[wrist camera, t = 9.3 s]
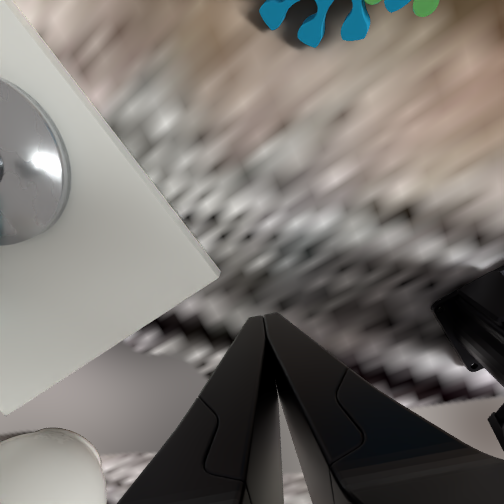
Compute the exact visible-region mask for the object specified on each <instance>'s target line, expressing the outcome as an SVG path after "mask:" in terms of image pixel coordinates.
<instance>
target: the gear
mask: <svg viewBox="0 0 504 504" xmlns="http://www.w3.org/2000/svg"><path fill="white" fill-rule="evenodd" d="M297 1H299V0H266V1H265V2H264V3H263V5H262V6H261V8H260V10H259V12H260V14H261V17H262V18H263V20H264V22H265V23H266V24H267V26H268V27H269V28H270V29H271V30H275V29H277V28H278V27H279V26H280V24H281V23H282V22H283V20H284V18H285V17H286V14H287V11H288V9H289V8H290V7H291V6H292V5H293V4H294V3H296V2H297ZM315 1H316V3H317V6H318V11H317V13H315V14H313V15H311V16H309V17H307V18H306V19H305V20H304V22H303V24H302V25H301V27H300V28H299V31H298V39H299V40H300V41H301V42H303V43H304V44H306V45H309V46H311V47H314V48H316V47H317V46H318V45H319V43H320V41H321V39H322V37H323V35H324V33H325V19H326V14H327V11H328V9H329V7H330V5H331V4H332V2H333V1H334V0H315ZM380 1H381V0H352V3H353V9H352V10H351V11H350V13H349V14H348V15H347V17H346V19H345V21H344V23H343V25H342V27H341V37H342V39H343V40H346V41H354V40H360V39H364V38H365V36H366V34H367V32H368V29H369V26H370V17H369V14H368V12H367V10H366V6H365V2H366V3H368V4H371V5H374V4H377V3H379V2H380ZM410 1H411V0H384V3H385V6H386V9H387V10H388V11H389V12H391V13H392V12H394V11H397V10H399V9H400V8H402V7H403V6H405V5H406V4H407V3H409V2H410ZM438 3H439V0H414V2H413V11H414V13H415V14H416V15H417V16H420V17H424V16H428V15H430V14H431V13H432V12H433V11H434V10H435V9H436V8H437V6H438Z"/></svg>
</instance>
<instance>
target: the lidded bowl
mask: <svg viewBox="0 0 504 504" xmlns="http://www.w3.org/2000/svg"><path fill="white" fill-rule="evenodd" d="M106 503H107V492H106V481H105V478H104V474H103V470H102V468H101V459H100V456H99V454H98V451H97V450H96V449H95V447H94V446H93V445H92V444H91V443H90V442H89V441H88V440H87V439H85V438H84V437H82V436H81V435H79V434H77V433H75V432H72V431H70V430H66V429H62V428H45V429H41V430H38V431H36V432H33V433H27V434H22V435H18V436H15V437H12V438H9V439H7V440H4V441H2V442H0V504H106Z"/></svg>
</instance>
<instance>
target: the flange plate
mask: <svg viewBox="0 0 504 504" xmlns="http://www.w3.org/2000/svg"><path fill="white" fill-rule="evenodd" d="M70 190H71V166H70V161H69V155H68V152H67V149H66V146H65V143H64V141H63V139H62V136H61V134H60V132H59V130H58V129H57V127H56V125H55V123H54V122H53V120H52V119H51V118H50V116H49V115H48V113H47V112H46V111H45V110H44V109H43V108H42V106H41V105H40V104H39V103H38V102H37V101H36V100H35V99H34V98H32V97H31V96H30V95H29V94H28V93H27V92H25V91H24V90H22V89H21V88H20V87H18V86H17V85H15V84H13V83H11V82H9V81H8V80H6V79H3V78H1V77H0V246H5V245H12V244H16V243H19V242H23V241H26V240H28V239H31V238H34V237H36V236H38V235H40V234H42V233H44V232H45V231H47V230H48V229H49V228H51V227H52V226H53V225H54V224H55V223H56V222H57V220H58V219H59V218H60V216H61V215H62V213H63V211H64V209H65V207H66V205H67V202H68V199H69V195H70Z"/></svg>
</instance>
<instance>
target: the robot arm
mask: <svg viewBox="0 0 504 504" xmlns="http://www.w3.org/2000/svg"><path fill="white" fill-rule="evenodd" d="M440 307H442V309H441V310H439V311H438V308H440ZM431 310H432V312H433V314H434V315H435V317H436V319H437V320H438V322H439V324H440V325H441V327H442V329H443V330H444V332H445V334H446V336H447V337H448V339H449V341H450V342H451V344H452V346H453V347H454V349H455V351H456V352H457V354H458V356H459V357H460V359H461V361H462V362H463V364H464V366H465V367H466V368H467V369H468V370H469V371H471V372H476V371H478V370H480V369H483V368H485V369H486V370H487V371H488V372H489V373H490V374H491V375H492V376H493V377H494V378H495V379H496V380H497V381H498V382H499V383H500V384H501V385H502V386H503V387H504V266H502V267H500V268H498V269H496V270H494V271H492V272H490V273H488V274H486V275H484V276H482V277H480V278H479V279H477V280H475V281H473V282H471V283H469V284H467V285H465V286H464V287H462V288H460V289H459V290H457V291H455V292H453V293H451V294H449V295H448V296H446V297H444V298H442V299H440V300H438V301H436V302H435V303H433V305H432V306H431ZM472 364H473V365H472ZM275 380H276V381H275ZM276 385H277V387H276ZM277 390H278V393H277ZM278 395H279V398H280V402H281V405H282V409H283V412H284V415H285V418H286V421H287V424H288V427H289V431H290V434H291V437H292V440H293V443H294V446H295V450H296V453H297V456H298V459H299V462H300V465H301V468H302V472H303V475H304V478H305V481H306V484H307V487H308V490H309V494H310V497H311V500H312V503H313V504H504V460H503V459H499V458H496V457H493V456H490V455H488V454H485V453H483V452H481V451H479V450H477V449H475V448H473V447H471V446H469V445H467V444H465V443H464V442H462V441H460V440H459V439H457V438H455V437H454V436H452V435H450V434H449V433H447V432H445V431H444V430H442V429H441V428H439V427H437V426H436V425H434V424H432V423H431V422H429V421H427V420H426V419H424V418H422V417H421V416H419V415H418V414H416V413H414V412H413V411H411V410H409V409H408V408H406V407H405V406H403V405H401V404H400V403H398V402H397V401H395V400H394V399H392V398H390V397H389V396H387V395H386V394H384V393H383V392H381V391H380V390H378V389H377V388H375V387H374V386H373V385H371V384H370V383H368V382H367V381H366V380H364V379H363V378H362V377H360V376H359V375H358V374H356V373H355V372H354V371H353V370H351V369H349V368H348V367H347V366H346V365H345V364H343V363H342V362H341V361H339V360H338V359H337V358H336V357H334V356H333V355H332V354H330V353H329V352H328V351H327V350H325V349H324V348H323V347H321V346H320V345H319V344H318V343H316V342H315V341H314V340H312V339H311V338H310V337H309V336H307V335H306V334H305V333H303V332H302V331H301V330H300V329H298V328H297V327H296V326H294V325H293V324H292V323H291V322H289V321H288V320H287V319H285V318H284V317H283V316H282V315H280V314H279V313H271V314H266V315H264V318H263V316H256V317H250V318H248V320H247V321H246V323H245V324H244V326H243V327H242V329H241V330H240V332H239V334H238V335H237V337H236V338H235V340H234V341H233V343H232V344H231V346H230V348H229V349H228V351H227V352H226V354H225V355H224V357H223V358H222V360H221V361H220V363H219V365H218V366H217V368H216V369H215V371H214V372H213V374H212V375H211V377H210V379H209V380H208V382H207V383H206V385H205V386H204V388H203V389H202V391H201V393H200V394H199V396H198V398H197V399H196V400H195V402H194V403H193V405H192V406H191V408H190V409H189V411H188V412H187V414H186V415H185V417H184V418H183V420H182V421H181V422H180V424H179V425H178V427H177V428H176V430H175V431H174V432H173V433H172V435H171V436H170V437H169V439H168V440H167V441H166V443H165V444H164V445H163V447H162V448H161V449H160V450H159V452H158V453H157V454H156V455H155V457H154V458H153V459H152V460H151V462H150V463H149V464H148V465H147V467H146V468H145V469H144V470H143V472H142V473H141V474H140V475H139V477H138V478H137V479H136V480H135V482H134V483H133V484H132V485H131V487H130V488H129V489H128V490H127V492H126V493H125V494H124V495H123V497H122V498H121V499H120V500H119V502H118V503H117V504H284V497H283V478H282V460H281V441H280V423H279V422H280V420H279V403H278ZM488 421H489V423H490V425H491V427H492V429H493V431H494V433H495V435H496V437H497V439H498V441H499V443H500V445H501V447H502V449H503V451H504V403H503V405H502V406H501V407H500V408H499V410H498V411H497V412H496V413H495V412H493V413H492V414H491V416H490V417H489V418H488Z"/></svg>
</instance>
